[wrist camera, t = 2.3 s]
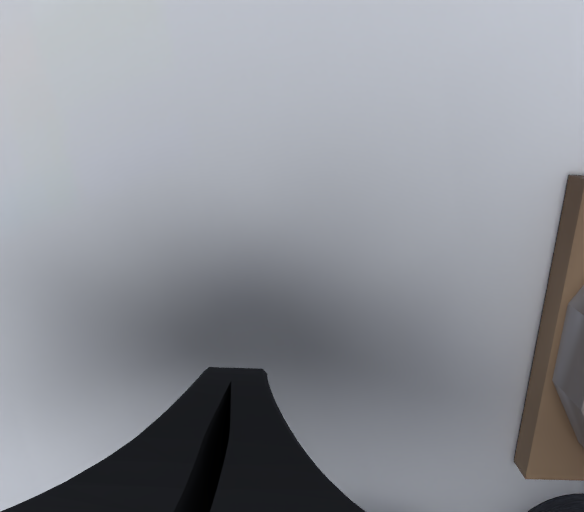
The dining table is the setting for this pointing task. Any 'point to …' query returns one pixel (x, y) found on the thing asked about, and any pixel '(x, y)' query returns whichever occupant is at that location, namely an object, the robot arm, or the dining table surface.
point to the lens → (562, 504)
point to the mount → (559, 359)
